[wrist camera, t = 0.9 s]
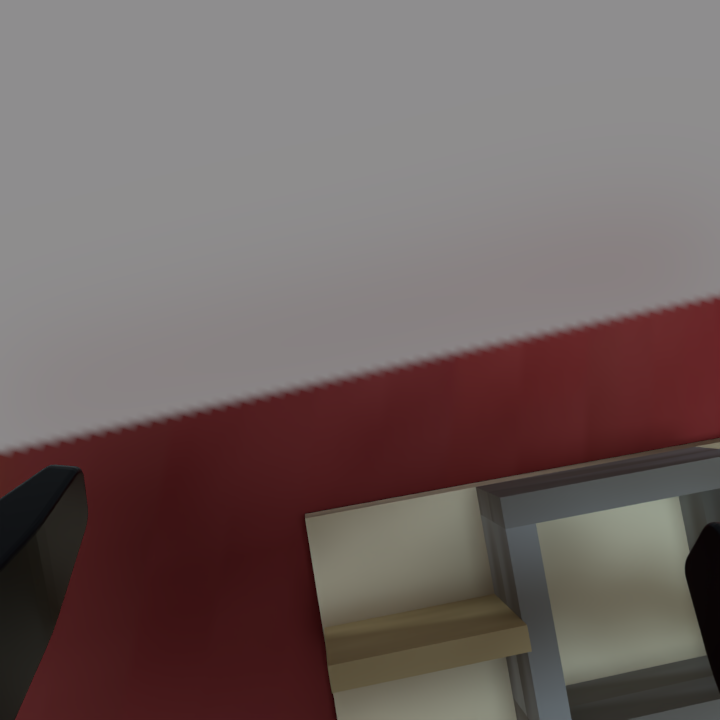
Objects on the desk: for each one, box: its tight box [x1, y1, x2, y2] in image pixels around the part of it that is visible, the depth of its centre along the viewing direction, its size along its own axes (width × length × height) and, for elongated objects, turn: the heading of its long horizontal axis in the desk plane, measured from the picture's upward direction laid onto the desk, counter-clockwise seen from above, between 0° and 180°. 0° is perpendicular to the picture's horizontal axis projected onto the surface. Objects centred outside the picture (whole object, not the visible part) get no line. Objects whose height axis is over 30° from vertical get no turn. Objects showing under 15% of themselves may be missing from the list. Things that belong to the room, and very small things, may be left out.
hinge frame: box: [305, 438, 720, 720], centre depth 23 cm, size 11×21×4 cm, turn 100°
